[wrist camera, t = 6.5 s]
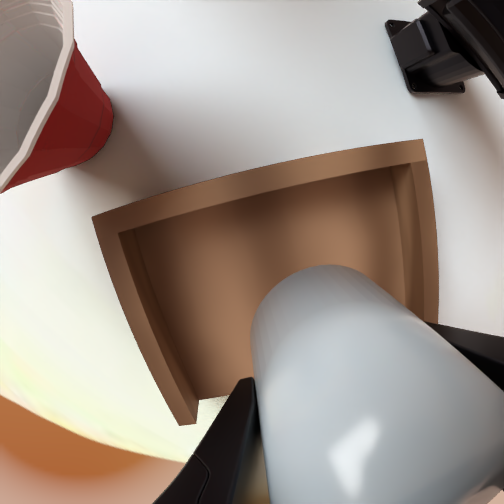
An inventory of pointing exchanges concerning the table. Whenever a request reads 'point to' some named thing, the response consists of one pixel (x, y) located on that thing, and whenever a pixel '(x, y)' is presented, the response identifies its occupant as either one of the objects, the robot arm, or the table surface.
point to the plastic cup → (46, 93)
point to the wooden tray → (263, 255)
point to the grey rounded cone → (368, 399)
